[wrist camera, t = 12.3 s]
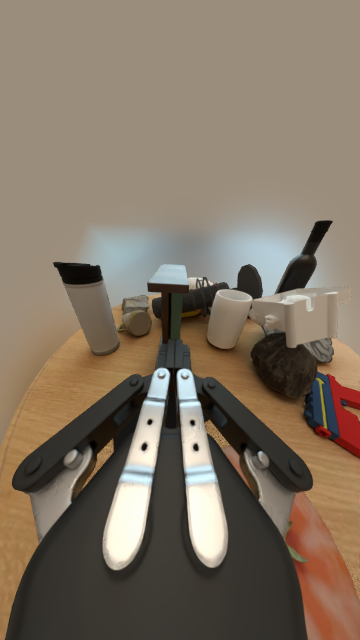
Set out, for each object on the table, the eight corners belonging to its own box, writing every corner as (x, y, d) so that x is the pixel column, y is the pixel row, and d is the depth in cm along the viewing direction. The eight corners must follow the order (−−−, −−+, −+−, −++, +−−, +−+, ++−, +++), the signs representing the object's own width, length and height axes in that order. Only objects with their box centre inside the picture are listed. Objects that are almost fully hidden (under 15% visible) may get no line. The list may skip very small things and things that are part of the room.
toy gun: (422, 493, 14) (307, 419, 19) (407, 494, 15) (301, 423, 20) (374, 394, 24) (306, 363, 29) (366, 399, 25) (302, 367, 30)
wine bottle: (279, 323, 47) (335, 223, 32) (280, 331, 43) (346, 219, 27) (262, 319, 50) (306, 223, 34) (261, 325, 45) (312, 219, 30)
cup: (225, 331, 41) (238, 288, 33) (242, 350, 34) (263, 301, 26) (200, 334, 38) (208, 289, 31) (213, 355, 32) (228, 303, 24)
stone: (144, 302, 56) (144, 291, 54) (156, 313, 49) (155, 302, 46) (117, 307, 51) (114, 296, 48) (124, 321, 43) (122, 308, 40)
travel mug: (84, 352, 30) (41, 260, 20) (105, 336, 36) (81, 257, 25) (105, 360, 29) (71, 265, 18) (124, 341, 34) (106, 260, 24)
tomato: (267, 457, 17) (300, 434, 13) (370, 718, 8) (614, 945, 3) (186, 453, 17) (193, 429, 13) (190, 715, 7) (221, 947, 3)
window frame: (179, 391, 24) (189, 284, 13) (155, 391, 23) (147, 282, 13) (179, 343, 35) (184, 265, 25) (163, 342, 35) (162, 264, 24)
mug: (135, 318, 45) (145, 298, 39) (146, 341, 41) (158, 323, 35) (112, 320, 40) (120, 297, 34) (122, 347, 36) (133, 327, 30)
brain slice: (274, 370, 31) (283, 368, 28) (247, 313, 40) (253, 307, 37) (339, 363, 34) (354, 360, 31) (301, 311, 42) (310, 305, 40)
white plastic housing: (286, 289, 31) (288, 318, 32) (237, 301, 31) (242, 329, 33) (363, 286, 18) (360, 334, 20) (279, 306, 18) (283, 352, 20)
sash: (179, 347, 26) (183, 283, 19) (170, 346, 26) (171, 282, 19) (179, 330, 31) (182, 274, 24) (171, 329, 31) (173, 274, 24)
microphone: (251, 318, 41) (163, 337, 43) (236, 289, 48) (160, 306, 51) (270, 285, 29) (146, 314, 31) (246, 253, 36) (146, 278, 39)
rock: (281, 409, 21) (312, 361, 17) (236, 362, 31) (249, 325, 27) (319, 398, 24) (352, 355, 20) (267, 359, 34) (283, 325, 30)
